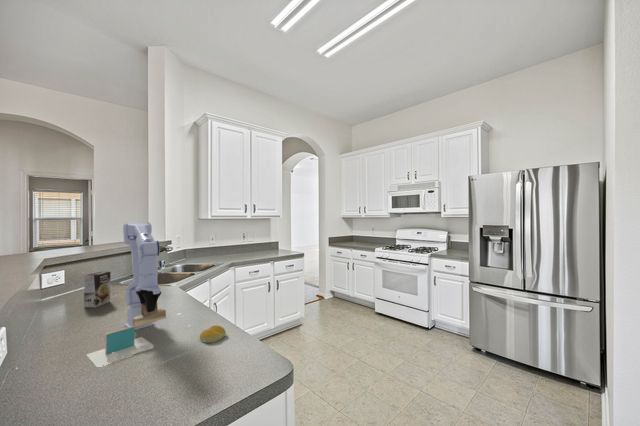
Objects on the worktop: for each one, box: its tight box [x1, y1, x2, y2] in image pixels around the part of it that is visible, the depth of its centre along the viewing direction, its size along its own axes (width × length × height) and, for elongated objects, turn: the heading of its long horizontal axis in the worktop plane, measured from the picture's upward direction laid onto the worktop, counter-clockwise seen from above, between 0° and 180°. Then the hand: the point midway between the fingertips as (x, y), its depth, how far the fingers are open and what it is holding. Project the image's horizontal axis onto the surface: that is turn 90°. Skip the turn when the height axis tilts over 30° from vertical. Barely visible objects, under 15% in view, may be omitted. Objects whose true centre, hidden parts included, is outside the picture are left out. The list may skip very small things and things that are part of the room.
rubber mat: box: [86, 336, 154, 368], centre depth 90 cm, size 13×16×1 cm
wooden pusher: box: [133, 302, 167, 328], centre depth 100 cm, size 4×10×7 cm, turn 144°
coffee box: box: [83, 271, 112, 308], centre depth 137 cm, size 9×6×16 cm
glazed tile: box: [104, 326, 136, 354], centre depth 91 cm, size 2×8×6 cm, turn 143°
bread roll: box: [199, 324, 227, 343], centre depth 100 cm, size 8×9×4 cm
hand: (148, 310), depth 100 cm, fingers closed on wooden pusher, 4 cm apart
